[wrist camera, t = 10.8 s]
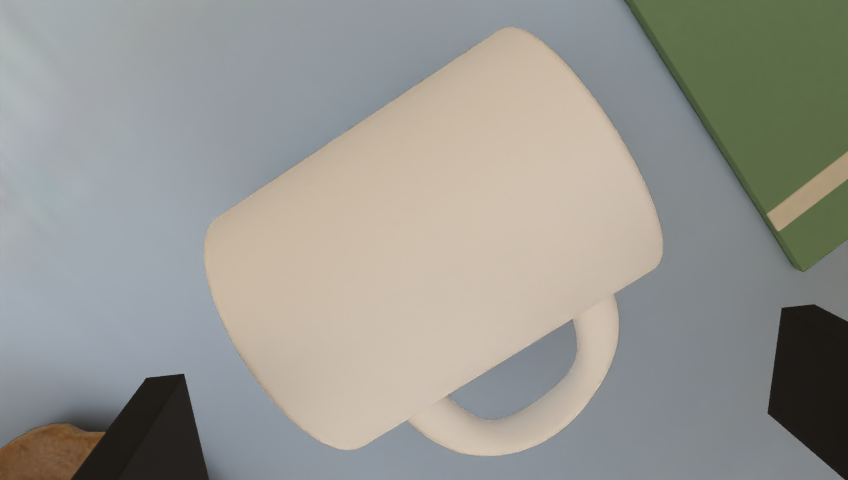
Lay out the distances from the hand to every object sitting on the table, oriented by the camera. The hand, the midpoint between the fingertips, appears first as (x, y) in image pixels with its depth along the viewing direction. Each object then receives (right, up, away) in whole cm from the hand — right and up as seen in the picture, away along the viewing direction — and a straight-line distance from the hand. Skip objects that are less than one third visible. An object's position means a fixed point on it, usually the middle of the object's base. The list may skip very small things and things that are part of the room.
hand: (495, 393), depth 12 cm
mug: (-1, +3, +9) cm, 9 cm away
